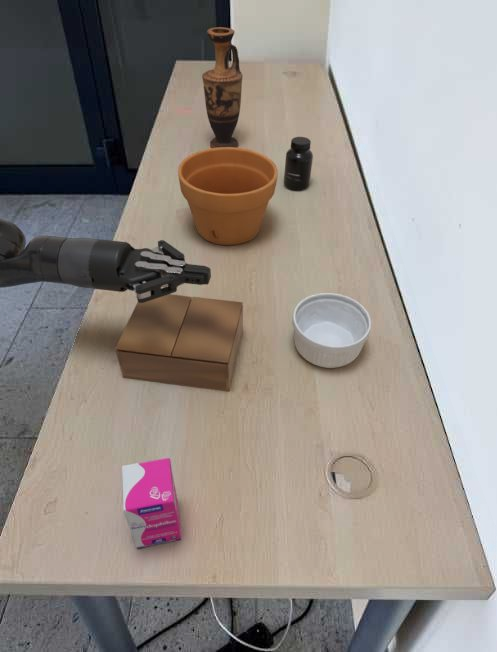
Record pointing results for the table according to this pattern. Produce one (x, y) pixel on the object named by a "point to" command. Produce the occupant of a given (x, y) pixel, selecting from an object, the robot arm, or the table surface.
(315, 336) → the ramekin
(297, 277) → the table surface
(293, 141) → the supplement bottle
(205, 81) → the vase
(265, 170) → the flower pot
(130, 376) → the carton
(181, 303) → the flap
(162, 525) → the supplement box
